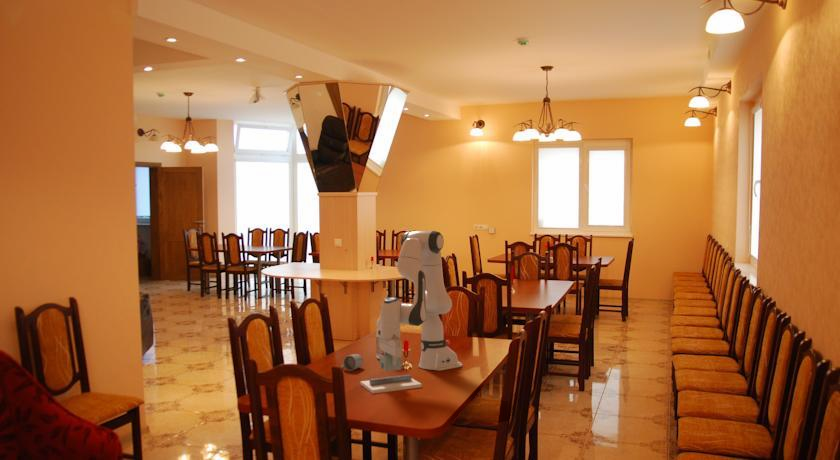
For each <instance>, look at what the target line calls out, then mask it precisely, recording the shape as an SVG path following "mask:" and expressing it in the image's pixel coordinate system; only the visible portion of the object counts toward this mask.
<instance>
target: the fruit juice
mask: <svg viewBox="0 0 840 460" xmlns="http://www.w3.org/2000/svg"><path fill="white" fill-rule="evenodd" d="M379 308H380V309H379V310H380V311H381V308H382V305H381V306H380V307H379ZM375 323H376V327H377V329H376V331H375V332H376V335H375V337H376V338H375V339H376V340H375V341H376V342H375V344H376V345H375V346H376V349H375V350H376V351H375V353H376V356H375V357H376V359H378V360H380V355H384V351H383V350H381V349H380V348H379V335H378V330H380V329H381V325H382V319H381V312H380V313H379V317H378V318H377V319H376V322H375Z"/></svg>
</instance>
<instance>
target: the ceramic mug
mask: <svg viewBox="0 0 840 460" xmlns="http://www.w3.org/2000/svg"><path fill="white" fill-rule="evenodd" d="M363 363H364V359H363V356H361V354H358V353H353V354H350V355H349V354H348V355H346V356H345V357H344V358H343V361H342V364H341V365H340V366H341V368H342V369H345V370H347V371H348V372H350V371H351V372H352V371H354V370H357V369H359V368H361V367H362V365H363Z"/></svg>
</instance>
